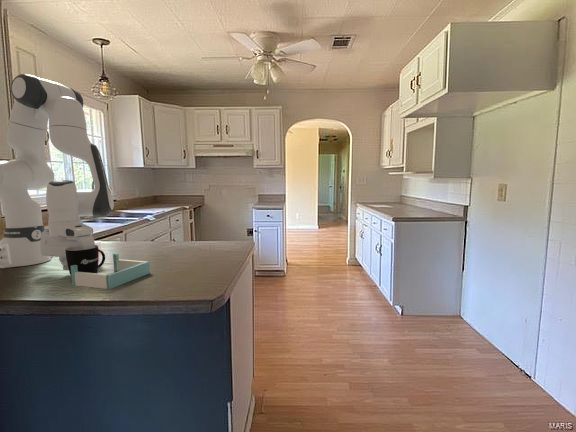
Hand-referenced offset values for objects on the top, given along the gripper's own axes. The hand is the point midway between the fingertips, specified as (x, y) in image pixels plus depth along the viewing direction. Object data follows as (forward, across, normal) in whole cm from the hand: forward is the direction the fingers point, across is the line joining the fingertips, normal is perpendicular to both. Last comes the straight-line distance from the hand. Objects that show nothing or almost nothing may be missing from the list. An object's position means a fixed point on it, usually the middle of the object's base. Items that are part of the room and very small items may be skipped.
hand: (68, 270), depth 109 cm
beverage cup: (+2, -2, +11) cm, 11 cm away
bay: (+2, +18, 0) cm, 18 cm away
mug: (+2, +8, 0) cm, 9 cm away
